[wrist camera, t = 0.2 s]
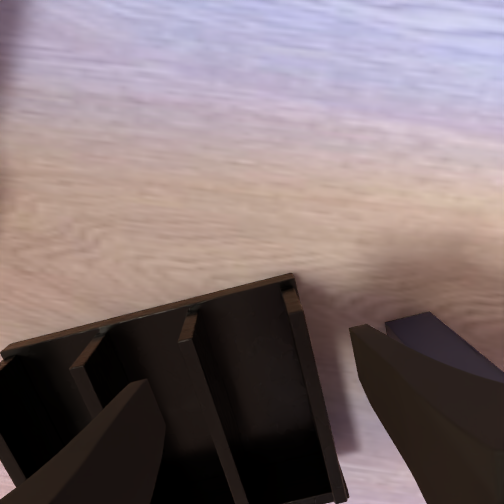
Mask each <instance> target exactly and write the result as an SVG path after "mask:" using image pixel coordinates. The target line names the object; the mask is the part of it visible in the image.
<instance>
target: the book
mask: <svg viewBox="0 0 504 504" xmlns="http://www.w3.org/2000/svg"><path fill="white" fill-rule="evenodd" d="M385 325H386V331H387V336H389V337H391V338H392V339H394V340H396V341H398V342H400V343H402V344H404V345H405V346H407V347H409V348H411V349H413V350H415V351H417V352H419V353H422V354H424V355H426V356H428V357H430V358H433V359H435V360H437V361H439V362H442V363H444V364H447V365H449V366H452V367H455V368H458V369H460V370H463V371H466V372H469V373H471V374H475V375H478V376H481V377H484V378H487V379H491V380H495V381H498V382H502V383H504V372H503V371H501V370H500V369H499V368H498V367H497V366H495V365H494V364H493V363H492V362H491V361H489V360H488V359H487V358H486V357H484V356H483V355H482V354H481V353H480V352H478V351H477V350H476V349H475V348H473V347H472V346H471V345H470V344H469V343H467V342H466V341H465V340H464V339H463V338H461V337H460V336H459V335H458V334H456V333H455V332H454V331H453V330H452V329H450V328H449V327H448V326H447V325H445V324H444V323H443V322H442V321H441V320H439V319H438V318H437V317H436V316H435V315H433V314H432V313H431V312H426V313H422V314H418V315H414V316H410V317H406V318H402V319H397V320H393V321H389V322H385Z"/></svg>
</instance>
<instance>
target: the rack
mask: <svg viewBox="0 0 504 504" xmlns="http://www.w3.org/2000/svg"><path fill="white" fill-rule="evenodd" d="M0 354H1V356H2V358H3V360H2V361H1V362H0V461H1V462H2V464H3V466H4V467H5V469H6V471H7V473H8V474H9V476H10V478H11V479H12V481H13V483H14V484H15V486H16V487H18V486H19V485H21V484H22V483H23V482H24V481H26V480H27V479H28V478H29V477H31V476H32V475H33V474H34V473H35V472H37V471H38V470H39V469H40V468H41V467H43V466H44V465H45V464H46V463H47V462H48V461H50V460H51V459H52V458H53V457H54V456H55V455H56V454H58V453H59V452H60V451H61V450H62V449H63V448H64V447H65V446H66V445H67V444H68V443H69V442H70V441H71V440H72V439H73V438H74V437H76V436H77V435H78V434H79V433H80V432H81V431H82V430H83V429H84V428H85V427H86V426H87V425H88V424H89V423H90V422H91V421H92V420H93V419H94V418H95V417H96V416H97V415H98V414H99V413H100V412H101V411H102V410H103V409H104V408H105V407H106V406H107V405H108V404H109V403H110V402H111V401H112V400H113V399H114V398H115V397H116V396H117V395H118V394H119V393H120V392H121V391H122V390H123V389H124V388H125V387H126V386H127V385H128V384H130V383H131V382H135V381H139V380H143V379H147V380H148V382H149V385H150V387H151V389H152V392H153V394H154V397H155V399H156V402H157V404H158V407H159V409H160V412H161V414H162V417H163V419H164V422H165V424H166V429H165V438H164V446H163V454H162V459H161V463H160V467H159V471H158V475H157V479H156V483H155V487H154V491H153V495H152V498H151V502H150V504H326V503H330V502H335V504H339V503H343V502H347V498H349V493H348V489H347V486H346V483H345V480H344V477H343V473H342V470H341V467H340V464H339V461H338V457H337V453H336V449H335V445H334V440H333V436H332V432H331V427H330V423H329V419H328V414H327V410H326V406H325V402H324V397H323V393H322V389H321V384H320V380H319V376H318V371H317V367H316V363H315V359H314V354H313V350H312V346H311V341H310V337H309V333H308V328H307V324H306V320H305V316H304V311H303V309H302V306H301V304H300V299H299V295H298V291H297V287H296V282H295V278H294V276H293V274H292V273H289V274H285V275H281V276H277V277H273V278H269V279H265V280H262V281H258V282H254V283H250V284H246V285H242V286H238V287H234V288H230V289H226V290H222V291H218V292H214V293H210V294H206V295H202V296H198V297H194V298H190V299H186V300H182V301H179V302H175V303H171V304H167V305H163V306H159V307H155V308H151V309H147V310H143V311H139V312H135V313H131V314H127V315H123V316H119V317H115V318H111V319H107V320H103V321H100V322H96V323H92V324H88V325H84V326H80V327H76V328H72V329H68V330H64V331H60V332H56V333H52V334H48V335H44V336H40V337H36V338H32V339H28V340H24V341H20V342H17V343H13V344H9V345H8V346H7V347H6V348H5V349H4V350H2V351H1V352H0Z"/></svg>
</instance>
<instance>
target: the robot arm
mask: <svg viewBox="0 0 504 504" xmlns="http://www.w3.org/2000/svg"><path fill="white" fill-rule="evenodd" d="M349 331H350V336H351V342H352V347H353V352H354V357H355V362H356V367H357V372H358V377H359V380H360V382H361V384H362V387H363V389H364V391H365V393H366V396H367V398H368V400H369V402H370V404H371V406H372V408H373V409H374V411H375V413H376V414H377V416H378V418H379V419H380V421H381V423H382V424H383V426H384V428H385V429H386V431H387V433H388V434H389V436H390V438H391V439H392V441H393V443H394V444H395V446H396V448H397V449H398V451H399V453H400V454H401V456H402V458H403V459H404V461H405V462H406V464H407V466H408V468H409V469H410V471H411V473H412V475H413V477H414V479H415V480H416V482H417V484H418V486H419V489H420V491H421V493H422V495H423V497H424V499H425V501H426V503H427V504H504V383H502V382H498V381H495V380H491V379H487V378H484V377H481V376H478V375H475V374H471V373H469V372H466V371H463V370H460V369H458V368H455V367H452V366H449V365H447V364H444V363H442V362H439V361H437V360H435V359H433V358H430V357H428V356H426V355H424V354H422V353H419V352H417V351H415V350H413V349H411V348H409V347H407V346H405V345H404V344H402V343H400V342H398V341H396V340H394V339H392V338H391V337H389V336H387V335H385V334H383V333H382V332H380V331H378V330H376V329H375V328H373V327H371V326H369V325H368V324H364V325H360V326H356V327H352V328H349ZM165 429H166V424H165V422H164V419H163V417H162V414H161V412H160V409H159V407H158V404H157V402H156V399H155V397H154V394H153V392H152V389H151V387H150V385H149V382H148V380H147V379H143V380H139V381H135V382H131V383H130V384H128V385H127V386H126V387H125V388H124V389H123V390H122V391H121V392H120V393H119V394H118V395H117V396H116V397H115V398H114V399H113V400H112V401H111V402H110V403H109V404H108V405H107V406H106V407H105V408H104V409H103V410H102V411H101V412H100V413H99V414H98V415H97V416H96V417H95V418H94V419H93V420H92V421H91V422H90V423H89V424H88V425H87V426H86V427H85V428H84V429H83V430H82V431H81V432H80V433H79V434H78V435H77V436H76V437H74V438H73V439H72V440H71V441H70V442H69V443H68V444H67V445H66V446H65V447H64V448H63V449H62V450H61V451H60V452H59V453H58V454H56V455H55V456H54V457H53V458H52V459H51V460H50V461H48V462H47V463H46V464H45V465H44V466H43V467H41V468H40V469H39V470H38V471H37V472H35V473H34V474H33V475H32V476H31V477H29V478H28V479H27V480H26V481H24V482H23V483H22V484H21V485H19V486H18V487H16V488H15V489H14V490H12V491H11V492H10V493H8V494H7V495H6V496H4V497H3V498H2V499H0V504H150V502H151V498H152V495H153V491H154V487H155V483H156V479H157V475H158V471H159V467H160V463H161V459H162V454H163V446H164V438H165Z"/></svg>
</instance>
